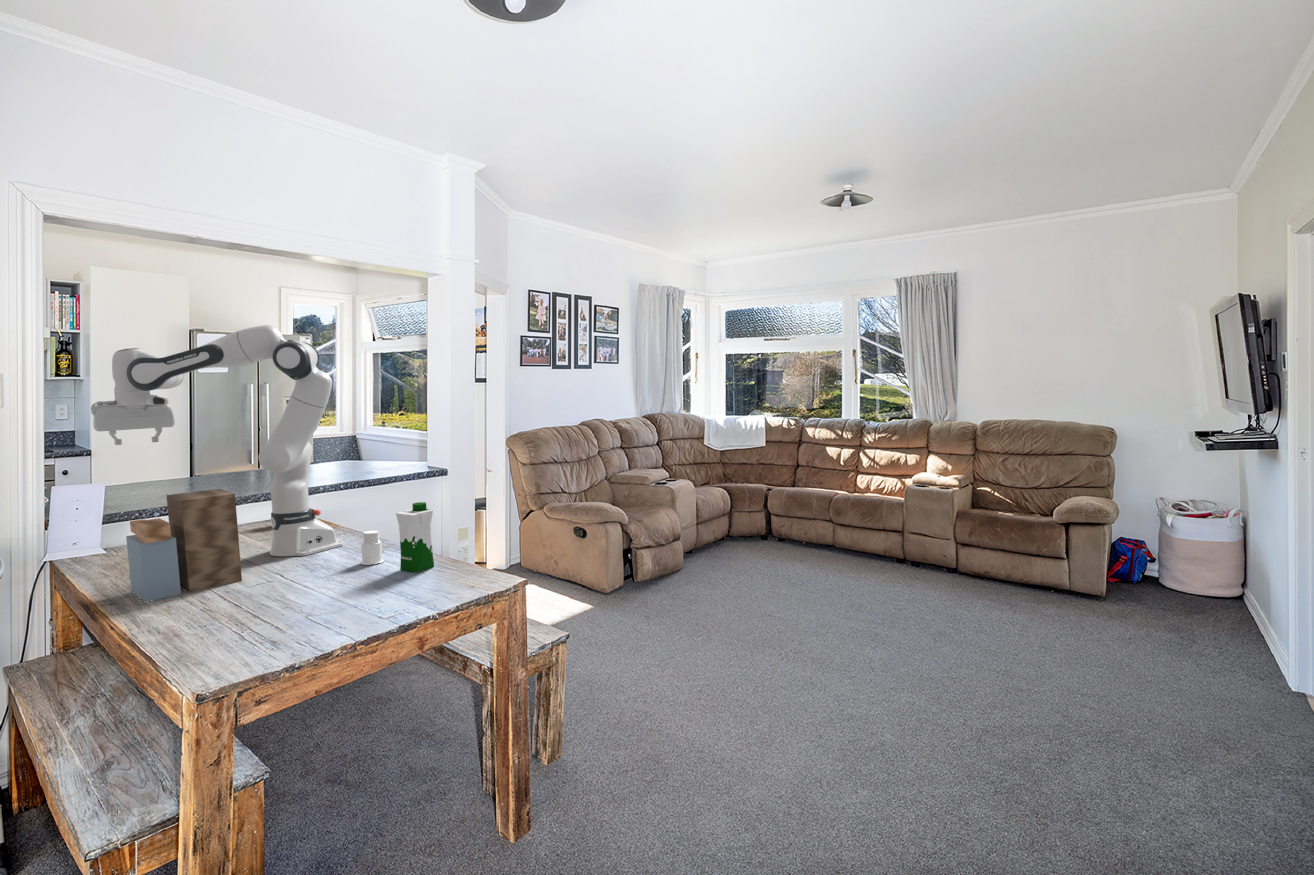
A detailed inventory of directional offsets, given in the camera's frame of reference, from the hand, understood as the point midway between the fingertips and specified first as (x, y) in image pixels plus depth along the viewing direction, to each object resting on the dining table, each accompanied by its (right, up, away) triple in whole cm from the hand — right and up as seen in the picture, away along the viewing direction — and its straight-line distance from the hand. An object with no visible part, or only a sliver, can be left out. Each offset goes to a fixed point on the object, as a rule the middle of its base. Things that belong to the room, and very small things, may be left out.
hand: (137, 443), depth 208 cm
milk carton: (+92, -39, -7) cm, 100 cm away
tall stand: (+34, -40, -17) cm, 55 cm away
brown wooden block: (+24, -26, -26) cm, 44 cm away
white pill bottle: (+75, -38, +1) cm, 84 cm away
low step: (+26, -42, -26) cm, 56 cm away
